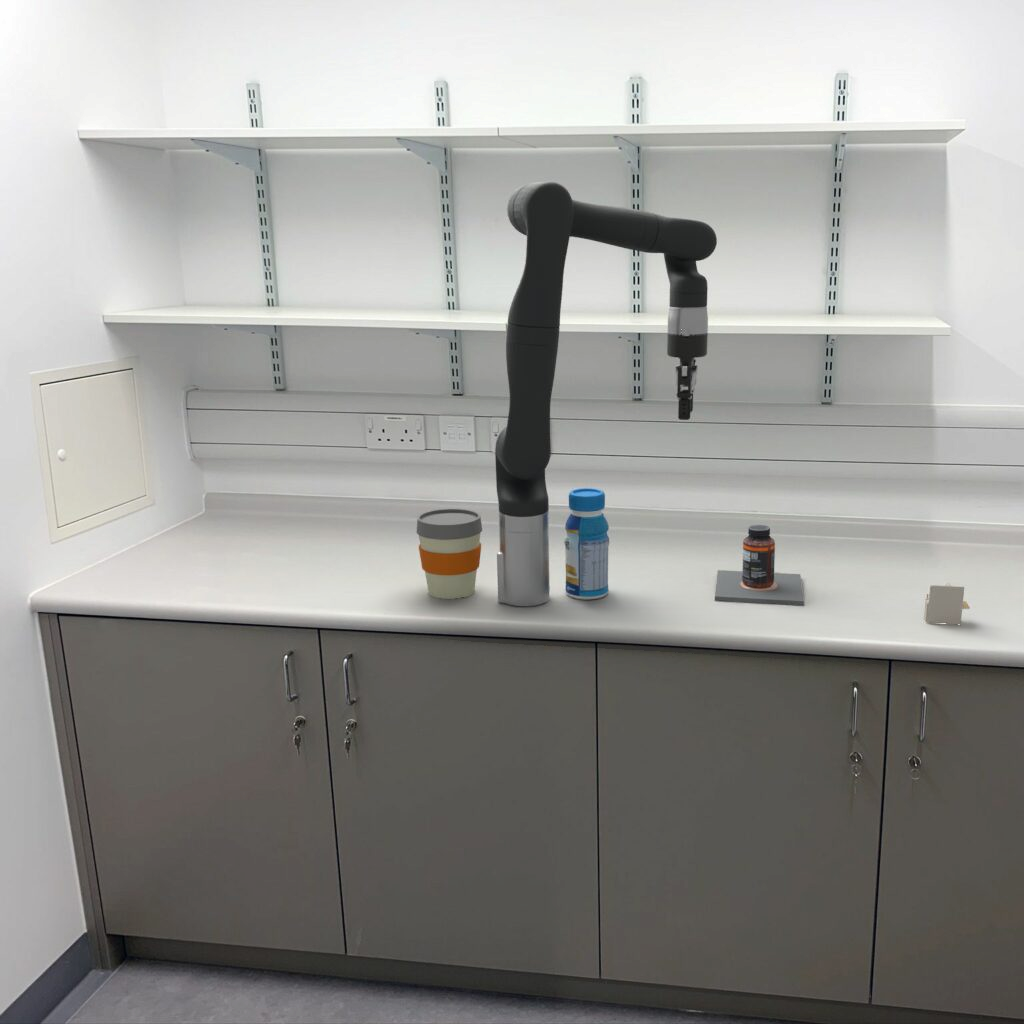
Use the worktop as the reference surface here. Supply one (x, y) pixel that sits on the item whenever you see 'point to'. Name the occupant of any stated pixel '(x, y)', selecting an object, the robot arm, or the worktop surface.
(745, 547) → the supplement bottle
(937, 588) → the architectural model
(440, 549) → the reusable coffee cup
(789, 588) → the mat
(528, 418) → the robot arm
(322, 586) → the worktop surface
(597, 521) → the beverage bottle
